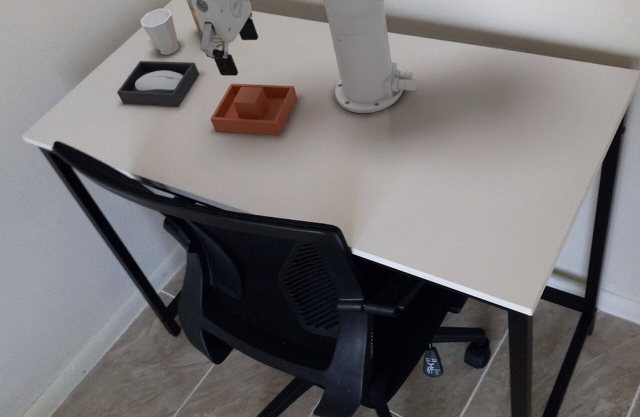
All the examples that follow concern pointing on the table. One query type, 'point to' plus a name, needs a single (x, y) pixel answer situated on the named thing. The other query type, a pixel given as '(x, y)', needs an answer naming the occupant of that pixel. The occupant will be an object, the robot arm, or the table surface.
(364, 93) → the robot arm
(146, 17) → the cup
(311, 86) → the table surface
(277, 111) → the terracotta bin
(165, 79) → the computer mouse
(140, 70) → the charcoal bin
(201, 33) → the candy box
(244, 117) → the terracotta block
